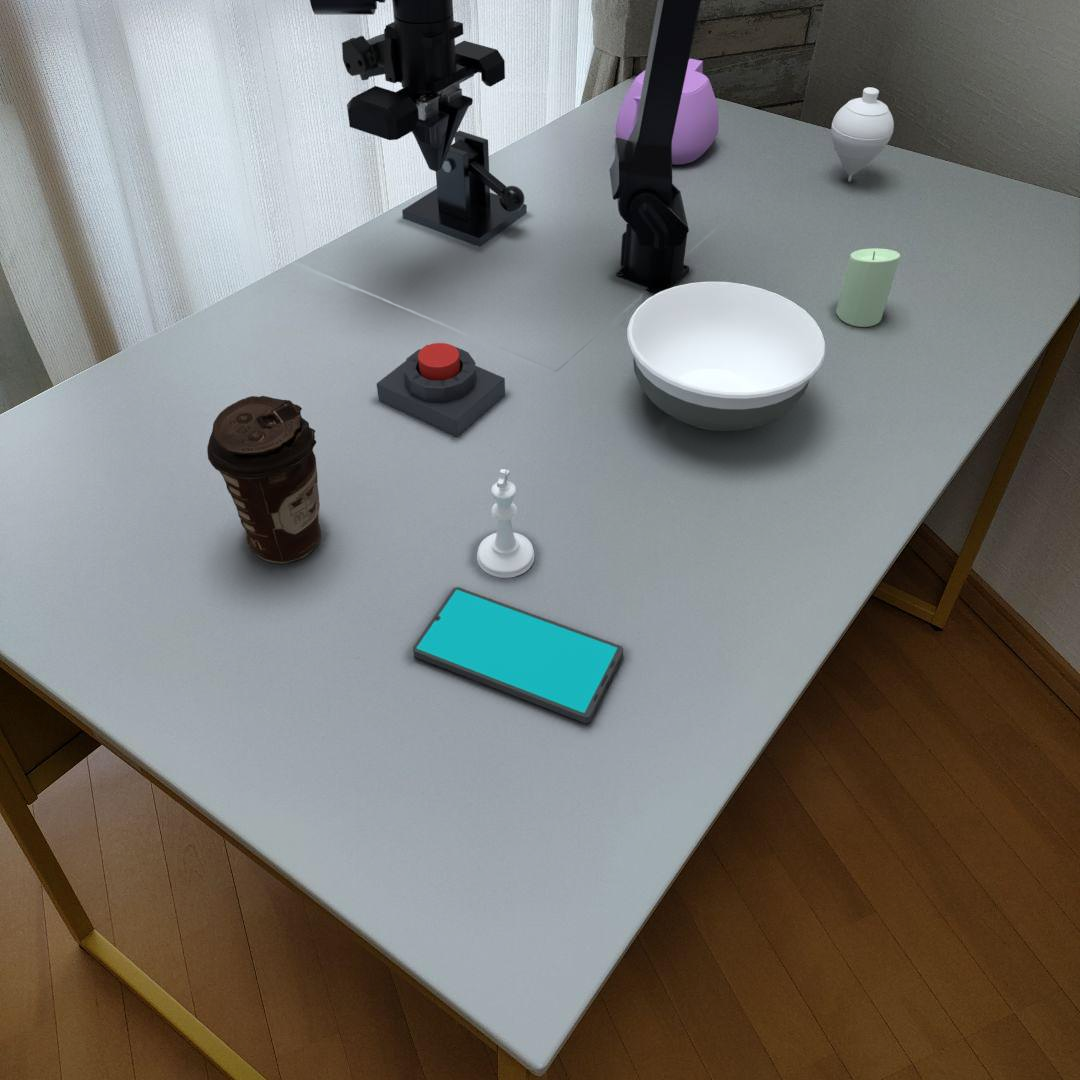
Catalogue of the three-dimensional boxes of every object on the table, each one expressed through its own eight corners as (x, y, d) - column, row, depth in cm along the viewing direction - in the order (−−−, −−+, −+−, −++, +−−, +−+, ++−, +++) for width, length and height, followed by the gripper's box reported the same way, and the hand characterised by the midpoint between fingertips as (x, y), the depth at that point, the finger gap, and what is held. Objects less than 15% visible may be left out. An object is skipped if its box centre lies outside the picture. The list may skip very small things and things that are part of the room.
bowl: (830, 460, 94) (850, 391, 88) (634, 469, 93) (641, 399, 87) (783, 344, 107) (798, 277, 101) (611, 351, 106) (615, 283, 100)
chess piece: (542, 543, 87) (542, 458, 79) (523, 584, 83) (521, 498, 76) (489, 530, 88) (485, 444, 80) (468, 569, 84) (462, 484, 77)
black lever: (524, 210, 121) (532, 192, 118) (510, 221, 119) (518, 202, 117) (457, 155, 122) (464, 135, 119) (442, 164, 120) (448, 144, 117)
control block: (505, 395, 101) (504, 363, 98) (457, 437, 96) (454, 405, 93) (428, 361, 105) (425, 329, 102) (378, 400, 100) (373, 368, 97)
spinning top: (834, 162, 136) (855, 72, 127) (887, 178, 133) (912, 86, 124) (810, 184, 132) (829, 92, 123) (864, 200, 129) (888, 107, 120)
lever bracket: (527, 215, 126) (526, 139, 119) (479, 249, 120) (476, 172, 113) (452, 189, 130) (447, 115, 123) (402, 221, 125) (394, 145, 118)
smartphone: (588, 718, 73) (411, 649, 77) (588, 725, 74) (412, 656, 78) (625, 646, 78) (455, 585, 82) (624, 652, 78) (456, 591, 83)
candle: (827, 306, 112) (843, 240, 106) (866, 299, 113) (884, 233, 107) (850, 331, 109) (868, 264, 103) (890, 323, 110) (910, 256, 104)
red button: (468, 366, 98) (467, 351, 97) (443, 386, 96) (441, 372, 95) (436, 352, 100) (435, 337, 98) (411, 372, 97) (409, 357, 96)
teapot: (586, 166, 135) (589, 83, 127) (651, 112, 147) (658, 32, 139) (676, 190, 130) (685, 105, 122) (735, 132, 142) (747, 51, 134)
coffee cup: (347, 508, 89) (325, 393, 80) (325, 577, 84) (298, 462, 74) (253, 501, 90) (220, 386, 81) (224, 569, 84) (184, 454, 75)
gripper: (419, -30, 104) (431, 119, 115) (293, 24, 93) (319, 182, 104) (506, -8, 99) (509, 144, 111) (384, 51, 89) (401, 213, 100)
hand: (435, 169), depth 107 cm, fingers closed
